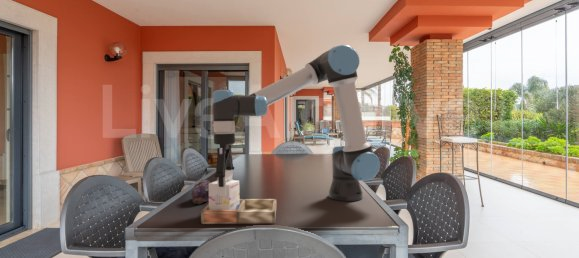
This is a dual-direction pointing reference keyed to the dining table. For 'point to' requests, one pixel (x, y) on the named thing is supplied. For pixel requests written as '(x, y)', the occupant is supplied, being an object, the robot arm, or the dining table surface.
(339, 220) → the dining table surface
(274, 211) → the divided tray
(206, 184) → the rock
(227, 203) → the ink box
